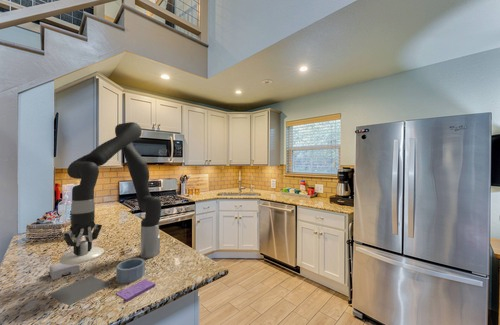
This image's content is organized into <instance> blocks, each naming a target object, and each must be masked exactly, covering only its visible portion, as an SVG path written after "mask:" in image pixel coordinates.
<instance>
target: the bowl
mask: <svg viewBox="0 0 500 325" xmlns="http://www.w3.org/2000/svg"><path fill="white" fill-rule="evenodd" d="M115 270H116V272H115V276H116V277H115V278H116V279H115V280H116V282H117V283H119V284H130V283H134V282H138V281H139V280H141V279H142V278H143V277H144V276H145V274H146V260H145V258H141V257H140V258H138V257H137V258H129V259H125V260H123V261H121V262H118V264H117V265H116V269H115Z"/></svg>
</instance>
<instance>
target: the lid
mask: <svg viewBox="0 0 500 325" xmlns="http://www.w3.org/2000/svg"><path fill="white" fill-rule="evenodd" d="M79 246H80V255H78V256H77V255H75V254H74V253H73V252H74V251H70V252H67V253H65V254H64V255H62V256H61V257H59V262H60V263H61V264H65V265H71V264H78V265H79V264H83V263H87V262H90V261H93V260H95V259H98V258H100V257H101V256H103V255H104V252H105V250H104V248H103V247H98V246H97V247H96V246H95V247H93V246H92V249H91V251H89V252H88V241H86V240H80V245H79Z"/></svg>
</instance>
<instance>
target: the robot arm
mask: <svg viewBox="0 0 500 325" xmlns="http://www.w3.org/2000/svg"><path fill="white" fill-rule="evenodd" d="M142 132H143V130H142V127H141V126H140V125H139V124H138V123H137V122H132V121H129V122H123V123H118V124H117V125H115V128H114V133H115V137H113V138H111V139H109V140H107V141H105V142H103V143H101V144H100V145H98V146H96V147H95V148H94V149H93V150H92V151H91V152H89V153H87V154H85V155H83V156H81V157H79V158H77V159H76V160H74V161H72V162H71V163H70V164H69V165H68V167H67V169H66V170H67V171H66V172H67V176H69V177H70V178H71V179H74V180H75V179H77V180H80V182H79V184H76V185H74V186H73V187H72V188H71V205H70V211H71V215H70V216H71V220H70V221H71V222H70V228H69V229H68V230H67V231H65V232H62V233H61V237H62V238H63V239H64V242H65V243H66V245H67V246H70V247H73V248H72V249H73V251H74V252H73V253H74V254H75V255H77V256H78V255H80V246H79V245H80V241H82V239H83V238H82V236H85V237H84V239H85V241H88V252H89V251H91V249H92V247H93V244H92V243H93V241H95V240H97V239H98V237H99V234H100V231H101V229H102V227H103V225H102V224H98V223H97V224H96V223H95V218H96V217H95V209H96V208H95V204H96V203H95V186H96V185H97V182H98V179H99V178H98V177H99V174H100V169H99V167H101V166H104V165H105V164H106V163H107V162H109V160H111V159H112V158H113V157H114V156H115V155H117V153H119V152H120V151H121V150H122V154H123V157H124V158H125V162H126V166H127V168H128V171H129V175H130V178H131V181H132V184H133V187H134V190H135V195H136V199H137V206H138V208H139V210H140V211H142V212H144V213H145V215H144V219H141V222H140V252H139V255H140V259H150V258H154V257H156V256H158V255H159V254H160V252H161V236H160V235H159V234H160V231H159V229H160V219H161V217H162V216H161V213H162V203H161V199H160V198H159V197H157V196H152V194H151V193H150V188H149V182H150V170H149V167H148V164H147V162H146V160H145V159H144V158H143V157H142V155H141V154H140V153H139V152H138V151H137V149H135V146H134V144H133V142H134V141H136V140H138V139H139V138H140V137H142ZM71 233H73V234H74V237H73V239H71V237H70V236H71Z"/></svg>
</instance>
